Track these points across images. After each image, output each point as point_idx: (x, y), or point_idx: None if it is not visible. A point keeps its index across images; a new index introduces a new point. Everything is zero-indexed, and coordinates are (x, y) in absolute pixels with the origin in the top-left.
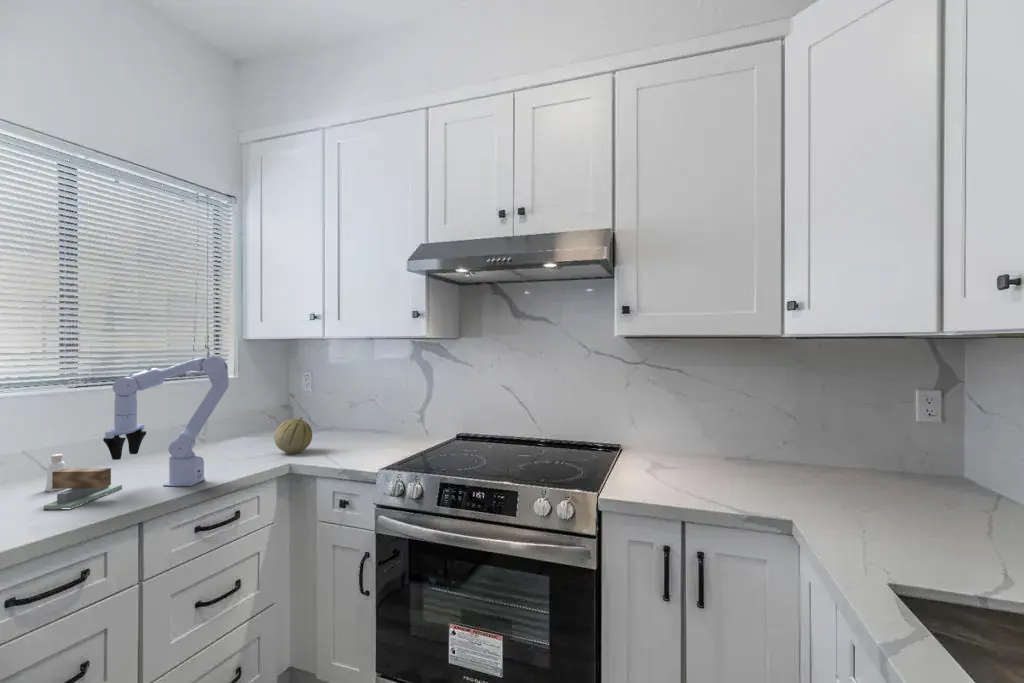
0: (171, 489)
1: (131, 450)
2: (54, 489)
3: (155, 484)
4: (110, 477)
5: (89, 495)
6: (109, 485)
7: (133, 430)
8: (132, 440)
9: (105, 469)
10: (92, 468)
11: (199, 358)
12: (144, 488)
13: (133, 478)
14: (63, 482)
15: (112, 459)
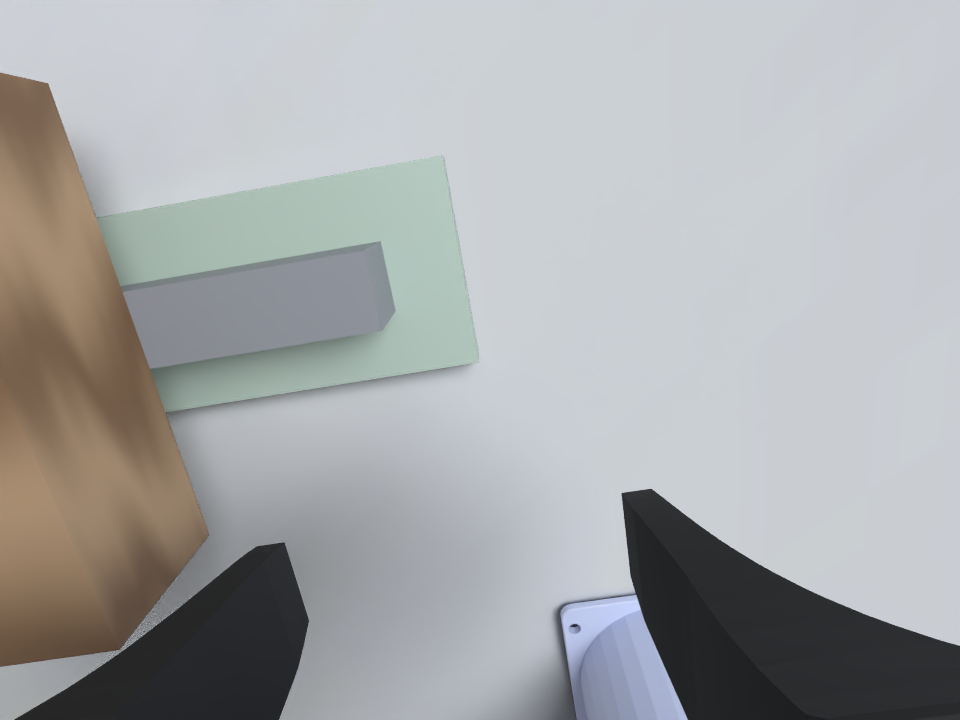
0: (504, 698)
1: (641, 548)
2: None
3: (614, 513)
4: (170, 578)
5: (166, 368)
6: (441, 271)
7: None
8: (721, 708)
9: (58, 640)
10: (35, 461)
11: None
12: (504, 516)
13: (805, 165)
14: None
15: (254, 550)
